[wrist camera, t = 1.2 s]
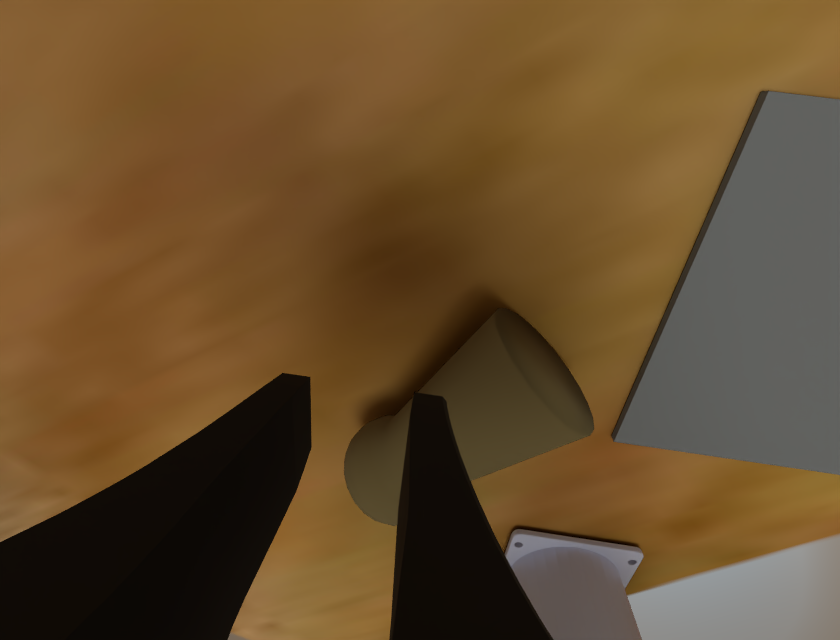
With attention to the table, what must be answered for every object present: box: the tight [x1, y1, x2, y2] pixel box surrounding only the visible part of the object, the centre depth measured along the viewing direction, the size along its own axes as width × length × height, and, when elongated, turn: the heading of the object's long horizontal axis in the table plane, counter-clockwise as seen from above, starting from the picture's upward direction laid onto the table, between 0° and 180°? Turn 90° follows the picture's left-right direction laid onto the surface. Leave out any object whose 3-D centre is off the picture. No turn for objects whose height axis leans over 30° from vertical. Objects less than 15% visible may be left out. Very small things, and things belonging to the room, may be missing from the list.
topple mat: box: [612, 91, 840, 475], centre depth 18 cm, size 16×13×1 cm
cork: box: [344, 308, 594, 526], centre depth 19 cm, size 6×6×11 cm
